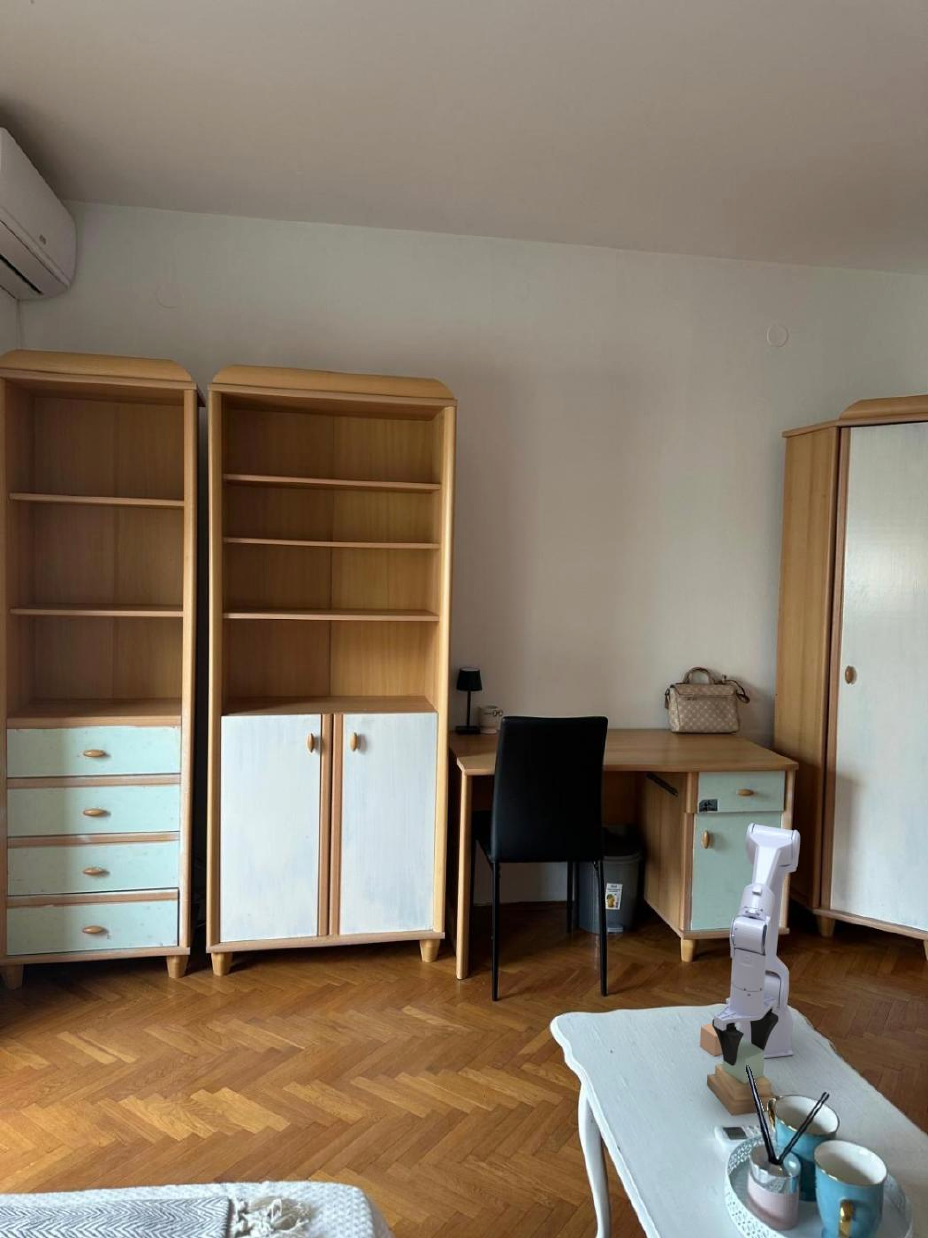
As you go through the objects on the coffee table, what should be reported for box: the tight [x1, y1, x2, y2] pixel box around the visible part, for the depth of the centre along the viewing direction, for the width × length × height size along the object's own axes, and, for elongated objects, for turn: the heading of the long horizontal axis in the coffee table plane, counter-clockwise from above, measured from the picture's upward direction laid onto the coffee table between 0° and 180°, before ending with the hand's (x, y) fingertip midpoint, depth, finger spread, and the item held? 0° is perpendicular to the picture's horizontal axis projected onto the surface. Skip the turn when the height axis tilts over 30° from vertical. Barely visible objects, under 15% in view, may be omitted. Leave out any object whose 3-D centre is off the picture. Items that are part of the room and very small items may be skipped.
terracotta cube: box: [699, 1022, 723, 1057], centre depth 171 cm, size 4×4×4 cm
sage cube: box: [722, 1038, 765, 1084], centre depth 156 cm, size 5×5×5 cm
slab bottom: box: [706, 1073, 776, 1116], centre depth 156 cm, size 9×9×2 cm
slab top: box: [714, 1063, 772, 1101], centre depth 156 cm, size 7×7×2 cm
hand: (743, 1056), depth 155 cm, fingers open, 7 cm apart
